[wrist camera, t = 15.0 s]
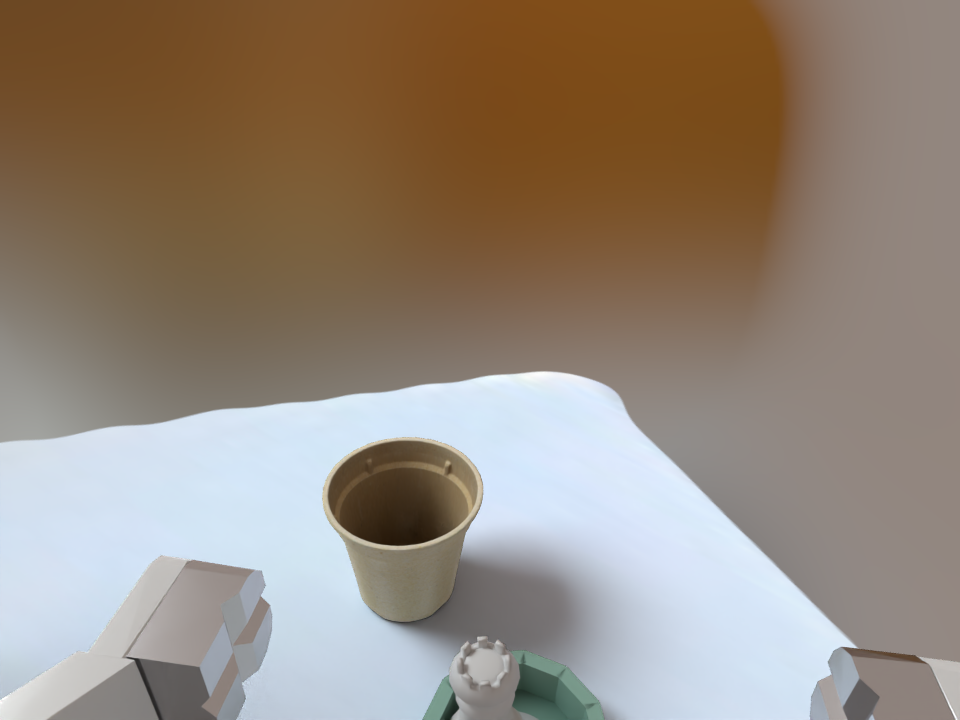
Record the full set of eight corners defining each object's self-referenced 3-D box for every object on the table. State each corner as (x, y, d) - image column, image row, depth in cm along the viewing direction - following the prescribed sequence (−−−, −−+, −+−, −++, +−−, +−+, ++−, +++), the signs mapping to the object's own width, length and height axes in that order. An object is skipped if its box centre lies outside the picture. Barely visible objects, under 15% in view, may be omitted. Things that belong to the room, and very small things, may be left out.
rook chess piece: (436, 794, 33) (424, 701, 29) (452, 707, 37) (444, 613, 33) (527, 808, 32) (529, 714, 28) (534, 718, 36) (537, 623, 32)
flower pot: (506, 610, 43) (513, 512, 38) (365, 674, 39) (354, 573, 34) (441, 514, 50) (440, 421, 45) (316, 560, 46) (302, 463, 41)
